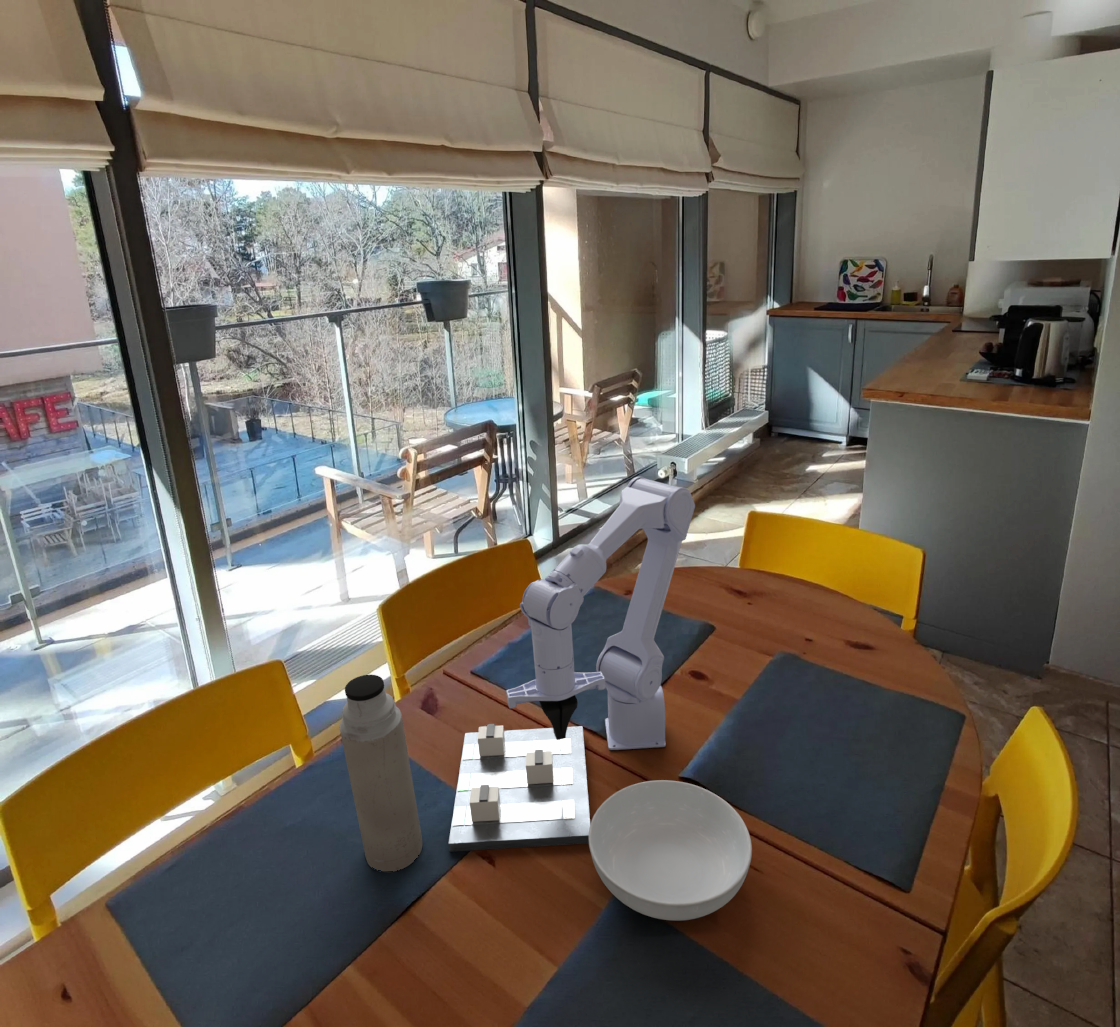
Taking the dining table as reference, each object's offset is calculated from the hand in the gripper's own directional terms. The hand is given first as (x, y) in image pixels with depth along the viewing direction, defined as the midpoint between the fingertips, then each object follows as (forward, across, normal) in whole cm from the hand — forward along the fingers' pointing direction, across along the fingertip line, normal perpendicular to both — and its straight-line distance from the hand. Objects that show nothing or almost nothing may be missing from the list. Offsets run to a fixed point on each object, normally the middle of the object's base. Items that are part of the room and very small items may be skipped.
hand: (559, 735), depth 112 cm
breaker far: (+7, +9, -9) cm, 15 cm away
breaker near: (+7, +13, +4) cm, 15 cm away
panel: (+9, +6, -1) cm, 11 cm away
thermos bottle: (+9, +26, +6) cm, 28 cm away
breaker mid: (+7, +3, -1) cm, 8 cm away
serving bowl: (+10, -9, +21) cm, 25 cm away
